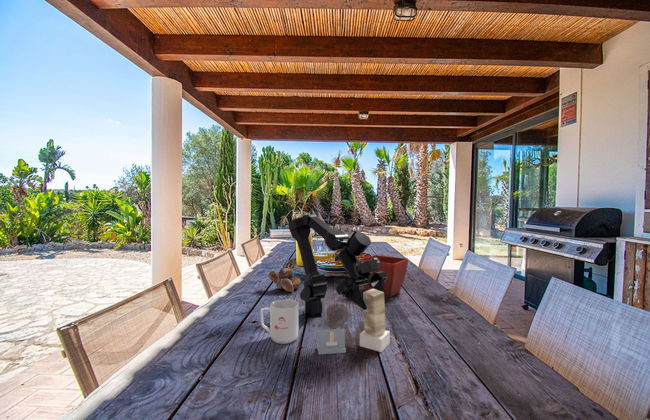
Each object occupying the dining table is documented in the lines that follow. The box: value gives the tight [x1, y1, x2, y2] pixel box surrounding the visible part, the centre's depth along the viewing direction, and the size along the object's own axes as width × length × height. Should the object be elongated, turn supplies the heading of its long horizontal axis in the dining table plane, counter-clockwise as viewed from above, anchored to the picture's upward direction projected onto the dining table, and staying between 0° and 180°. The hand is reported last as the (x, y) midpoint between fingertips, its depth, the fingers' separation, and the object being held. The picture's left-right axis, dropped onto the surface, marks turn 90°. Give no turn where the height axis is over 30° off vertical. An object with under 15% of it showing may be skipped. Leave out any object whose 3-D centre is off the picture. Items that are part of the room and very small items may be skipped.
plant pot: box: [358, 254, 409, 298], centre depth 148 cm, size 19×19×17 cm
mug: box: [260, 299, 300, 345], centre depth 96 cm, size 12×9×11 cm
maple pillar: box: [362, 289, 386, 337], centre depth 92 cm, size 4×4×12 cm
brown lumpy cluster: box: [268, 267, 302, 293], centre depth 152 cm, size 13×16×15 cm
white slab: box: [359, 329, 391, 353], centre depth 93 cm, size 7×7×4 cm
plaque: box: [316, 328, 347, 355], centre depth 89 cm, size 8×4×6 cm, turn 99°
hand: (376, 306), depth 92 cm, fingers open, 9 cm apart
